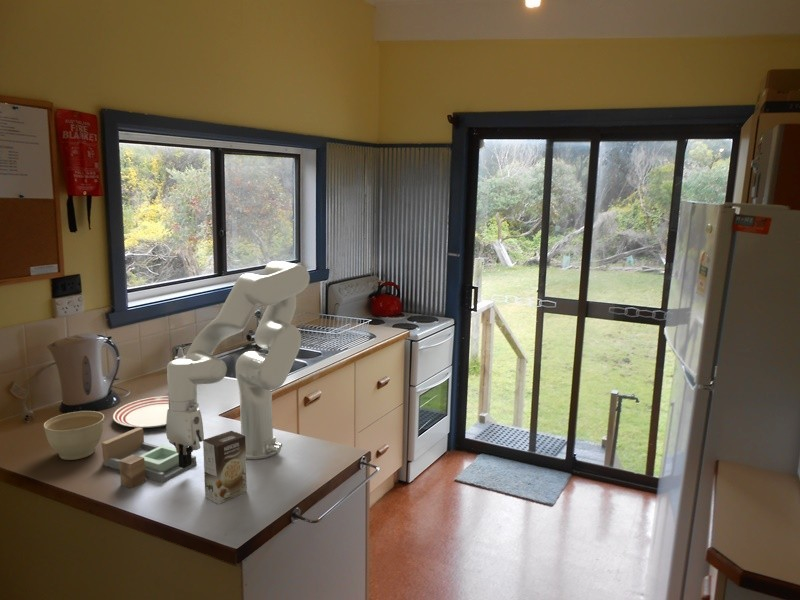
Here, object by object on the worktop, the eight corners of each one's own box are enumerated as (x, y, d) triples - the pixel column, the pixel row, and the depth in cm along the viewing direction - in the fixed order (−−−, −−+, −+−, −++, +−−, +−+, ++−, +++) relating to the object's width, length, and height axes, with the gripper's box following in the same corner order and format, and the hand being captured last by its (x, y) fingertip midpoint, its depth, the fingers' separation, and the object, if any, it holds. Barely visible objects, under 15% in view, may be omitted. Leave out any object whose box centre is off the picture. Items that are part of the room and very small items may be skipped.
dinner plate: (180, 434, 202) (180, 425, 202) (98, 433, 203) (97, 423, 202) (207, 405, 229) (207, 396, 229) (135, 403, 230) (134, 395, 229)
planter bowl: (118, 447, 192) (116, 414, 190) (75, 469, 177) (72, 434, 175) (79, 439, 197) (76, 407, 195) (34, 460, 182) (30, 425, 180)
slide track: (196, 464, 181) (195, 441, 180) (161, 483, 169) (160, 459, 168) (138, 447, 191) (137, 426, 190) (102, 464, 180) (100, 442, 179)
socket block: (186, 460, 180) (185, 450, 180) (159, 474, 172) (158, 464, 171) (164, 454, 184) (163, 444, 184) (136, 467, 176) (135, 457, 175)
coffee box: (218, 505, 158) (216, 446, 155) (204, 497, 162) (201, 440, 159) (248, 491, 165) (245, 435, 162) (233, 484, 169) (231, 429, 166)
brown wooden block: (145, 481, 170) (144, 457, 169) (132, 488, 166) (130, 464, 165) (134, 477, 172) (132, 454, 171) (120, 484, 168) (119, 460, 167)
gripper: (213, 404, 170) (215, 466, 173) (173, 395, 176) (176, 455, 179) (193, 412, 163) (195, 477, 166) (152, 403, 170) (155, 465, 173)
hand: (185, 465), depth 173 cm, fingers closed
